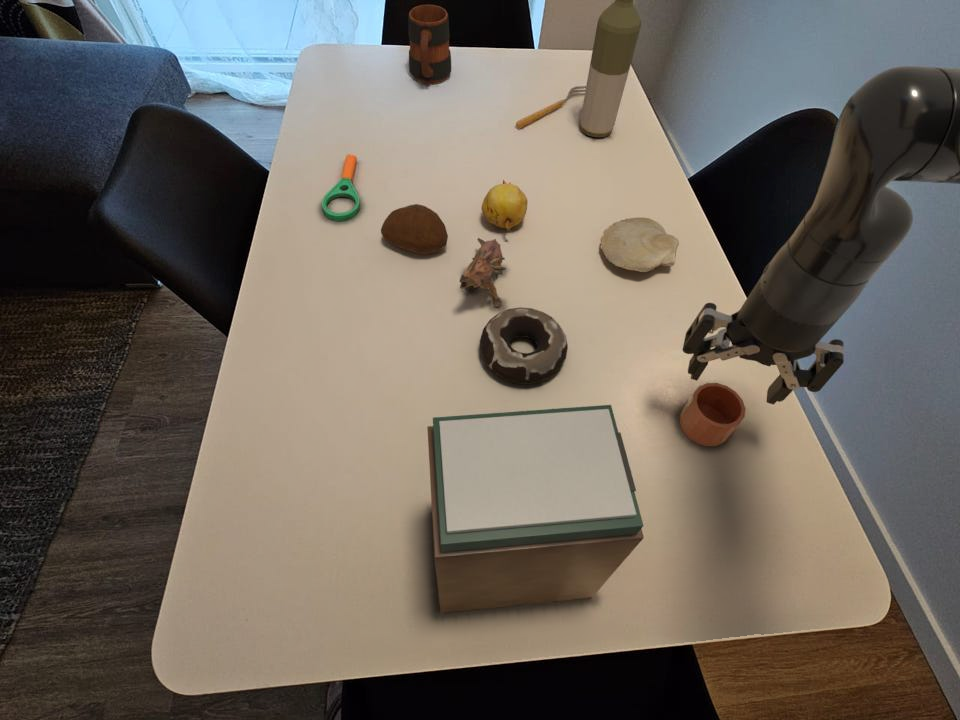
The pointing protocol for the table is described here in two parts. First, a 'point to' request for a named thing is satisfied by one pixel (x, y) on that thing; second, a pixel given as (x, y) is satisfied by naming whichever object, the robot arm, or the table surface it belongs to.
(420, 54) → the mug
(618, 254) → the seashell
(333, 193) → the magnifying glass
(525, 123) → the fork
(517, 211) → the fruit
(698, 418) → the bowl
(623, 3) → the bottle
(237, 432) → the table surface
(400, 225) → the potato
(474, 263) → the dinosaur figurine
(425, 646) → the table surface
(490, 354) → the donut
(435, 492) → the stand
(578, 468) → the scale
